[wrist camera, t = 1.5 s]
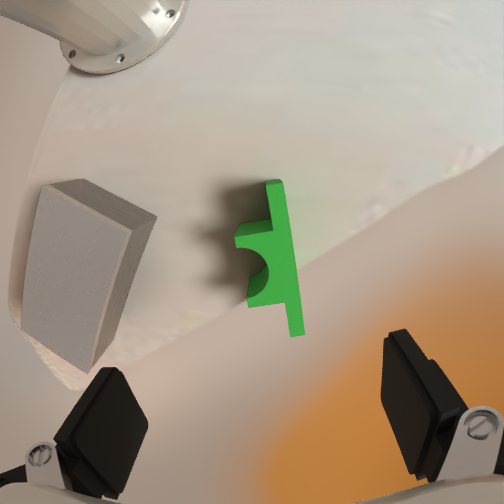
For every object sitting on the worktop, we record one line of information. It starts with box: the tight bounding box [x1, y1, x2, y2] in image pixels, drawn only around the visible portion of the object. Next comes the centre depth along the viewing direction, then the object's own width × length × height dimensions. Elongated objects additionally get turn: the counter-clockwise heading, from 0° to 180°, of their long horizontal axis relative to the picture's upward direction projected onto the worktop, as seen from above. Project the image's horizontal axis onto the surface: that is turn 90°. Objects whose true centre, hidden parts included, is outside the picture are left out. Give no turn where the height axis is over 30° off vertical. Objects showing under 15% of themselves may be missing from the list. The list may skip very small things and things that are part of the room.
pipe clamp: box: [234, 179, 305, 337], centre depth 23 cm, size 11×4×5 cm, turn 10°
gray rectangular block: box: [21, 179, 157, 374], centre depth 23 cm, size 14×8×6 cm, turn 153°
